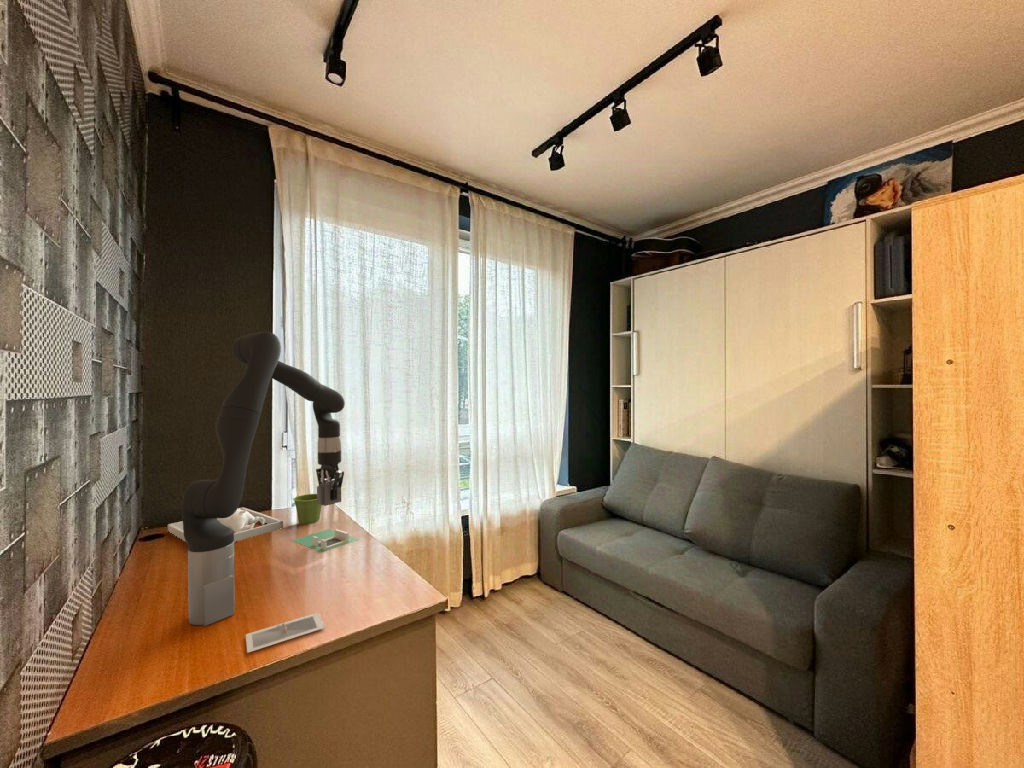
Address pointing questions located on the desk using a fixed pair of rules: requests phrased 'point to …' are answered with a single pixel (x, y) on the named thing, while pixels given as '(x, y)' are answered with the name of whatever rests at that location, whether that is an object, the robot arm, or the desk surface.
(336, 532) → the board
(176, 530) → the light grey flat tray
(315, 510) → the plant pot
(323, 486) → the plug
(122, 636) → the desk surface
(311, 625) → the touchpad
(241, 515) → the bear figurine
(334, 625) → the desk surface
